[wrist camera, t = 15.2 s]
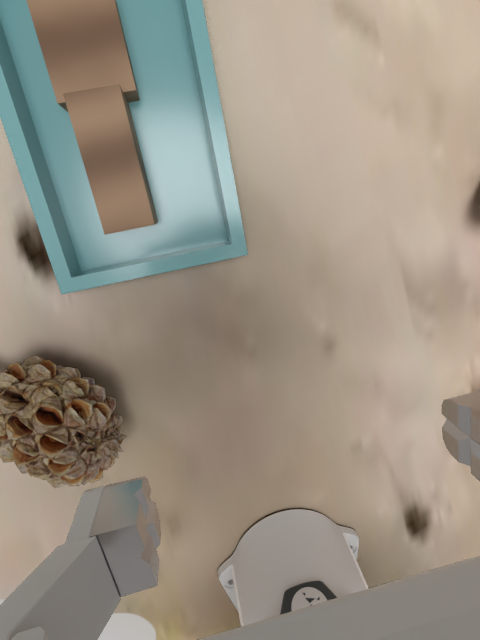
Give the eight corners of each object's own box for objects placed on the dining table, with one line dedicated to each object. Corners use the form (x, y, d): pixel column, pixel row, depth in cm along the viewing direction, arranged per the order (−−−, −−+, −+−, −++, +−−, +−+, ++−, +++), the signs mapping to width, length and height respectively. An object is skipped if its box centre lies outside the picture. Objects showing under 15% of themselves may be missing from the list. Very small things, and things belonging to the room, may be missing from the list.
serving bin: (241, 250, 37) (247, 254, 34) (74, 285, 36) (61, 294, 32) (184, -55, 30) (185, -94, 26) (-30, -26, 28) (-62, -62, 25)
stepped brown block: (168, 220, 35) (166, 222, 30) (104, 233, 34) (91, 237, 30) (116, 1, 30) (104, -38, 25) (39, 13, 29) (11, -25, 25)
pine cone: (152, 388, 40) (143, 444, 31) (105, 456, 42) (82, 529, 32) (-61, 273, 34) (-154, 298, 25) (-108, 357, 35) (-212, 411, 26)
